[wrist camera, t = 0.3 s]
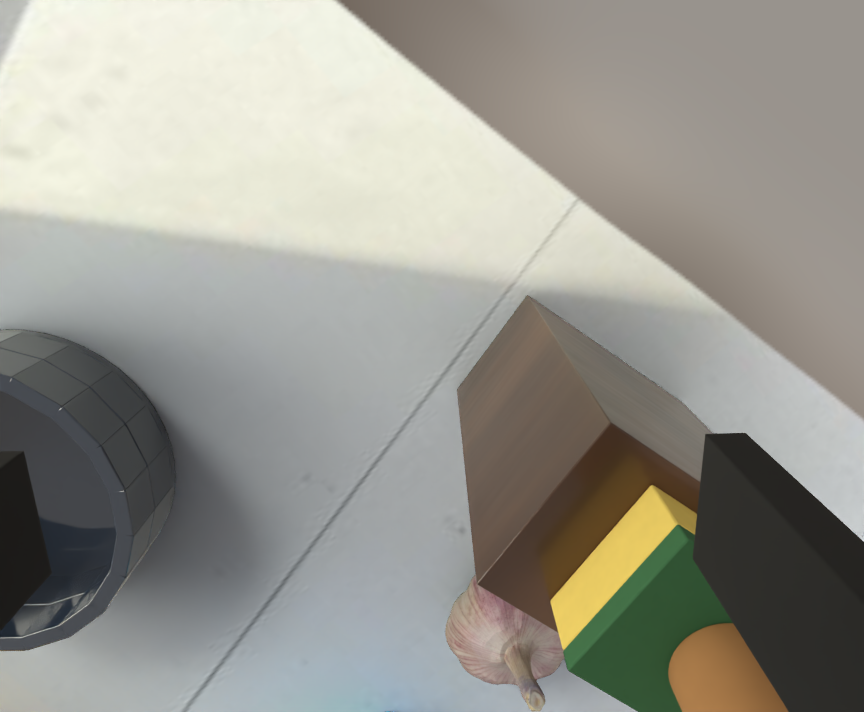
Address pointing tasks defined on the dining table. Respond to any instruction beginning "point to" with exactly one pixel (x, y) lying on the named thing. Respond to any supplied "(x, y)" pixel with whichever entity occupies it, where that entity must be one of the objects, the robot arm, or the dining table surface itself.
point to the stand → (562, 454)
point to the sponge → (656, 621)
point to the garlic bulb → (502, 643)
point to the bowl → (81, 477)
